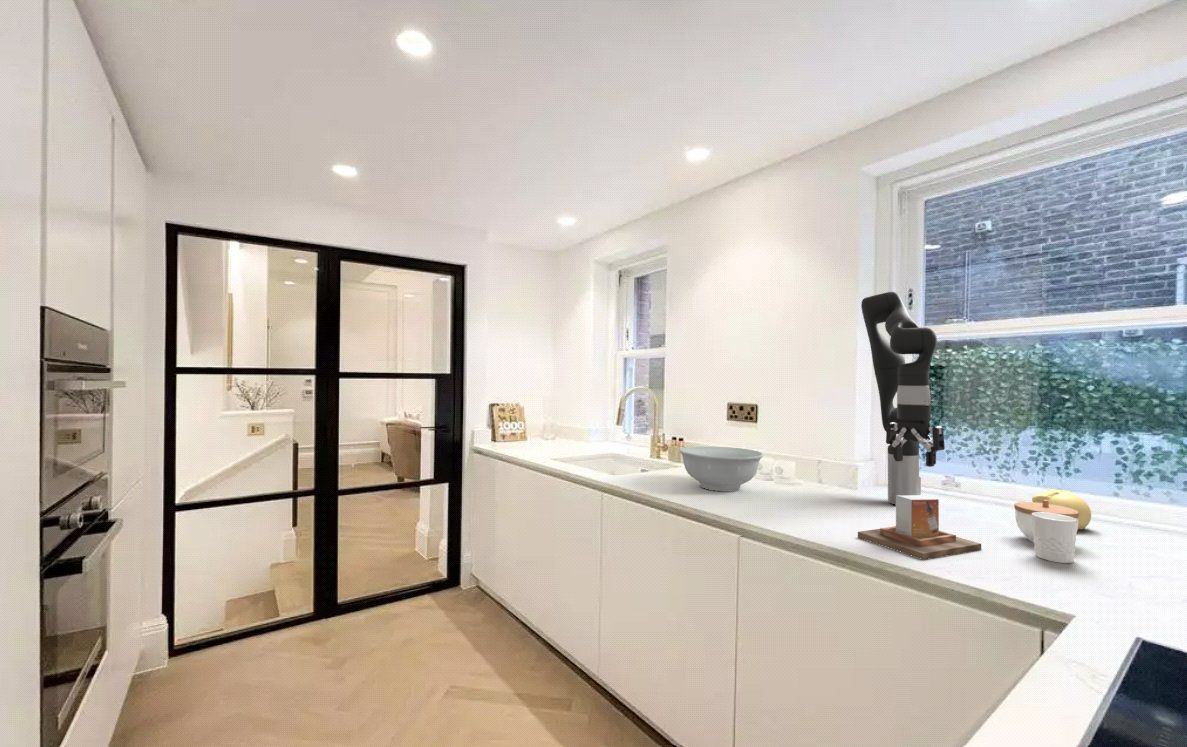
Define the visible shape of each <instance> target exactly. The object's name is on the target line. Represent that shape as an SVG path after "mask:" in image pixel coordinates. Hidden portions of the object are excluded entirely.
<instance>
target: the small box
mask: <svg viewBox="0 0 1187 747" xmlns="http://www.w3.org/2000/svg"><path fill="white" fill-rule="evenodd" d="M939 506H940V501H939V499H938V498H935V497H931V496H927V495H925V494H921V495H896V505H895V526H896V532H898V533H901V534H904V535H907V536H911V537H914V538H917V539H924V538H930V537H937V536H939V531H940V530H939V526H940V525H939V524H940V523H939V522H940V521H939V519H940V518H939V517H940V516H939V515H940V514H939V513H940V512H939V510H940V508H939Z"/></svg>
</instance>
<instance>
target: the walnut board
mask: <svg viewBox="0 0 1187 747" xmlns="http://www.w3.org/2000/svg"><path fill="white" fill-rule="evenodd" d="M858 537H859V538H858ZM857 538H858V539H861V538H862V539H861V540H864V539H865V541H867V540H868V541H867V542H870V541H871V542H870V543H874V544H876V543H877V544H876V545H879V544H880V545H879V546H881V545H883V546H882V547H884V546H886V547H885V548H887V547H889V548H888V549H890V548H892V549H891V550H893V549H895V550H894V551H896V550H898V551H897V552H899V551H901V552H900V553H902V552H903V553H902V554H905V553H906V554H905V555H908V554H909V555H908V556H911V555H912V556H911V557H913V556H915V557H914V558H916V557H918V558H917V559H919V558H921V559H920V560H922V559H926V560H929V559H928V558H932V559H936V557H937V558H941V556H943V557H947V556H946V555H949V556H954V555H959V554H958V553H960V554H965V553H964V552H966V553H970V551H971V552H975V551H976V550H977V551H981V550H982V543H979V542H976V541H972V540H969V539H967V538H962V537H959V536H957V535H956V534H953V533H949V532H946V531H942V530H939V536H937V537H930V538H924V539H917V538H914V537H911V536H907V535H904V534H901V533H898V532H896V525H894V526H888V527H880V528H876V529H870V530H867V529H866V530H861V531H860V530H859V531H857ZM953 554H954V555H953Z"/></svg>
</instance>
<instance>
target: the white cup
mask: <svg viewBox="0 0 1187 747" xmlns="http://www.w3.org/2000/svg"><path fill="white" fill-rule="evenodd" d="M1076 524H1077V520H1076V519H1075V518H1073V517H1069V516H1065V515H1060V514H1054V513H1045V512H1034V513H1032V526H1033V537H1034V542H1033V544H1034V554H1035V556H1036V558H1037V557H1038V558H1040V559H1042V560H1046V561H1049V562H1054V563H1055V562H1056V563H1061V564H1062V563H1063V564H1072V563H1074V562H1075V551H1076V542H1077V533H1076Z"/></svg>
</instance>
